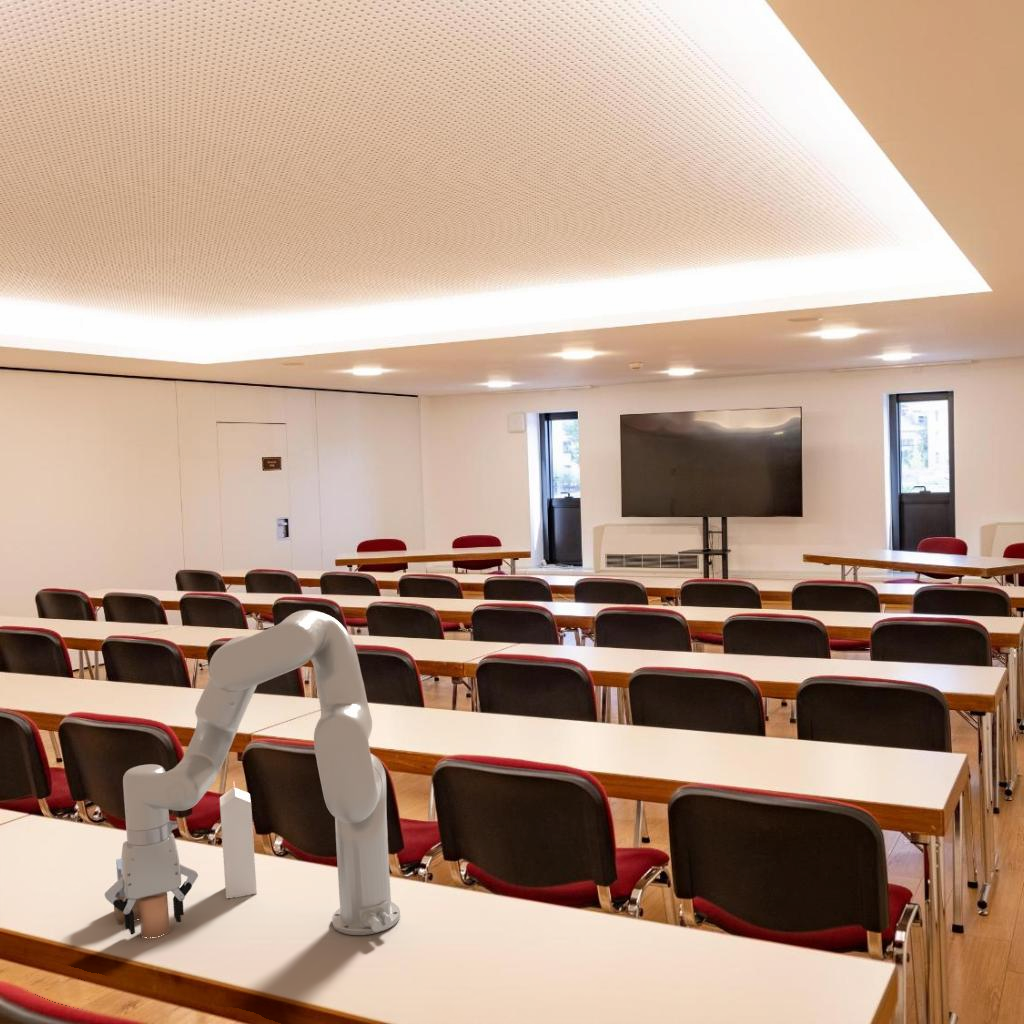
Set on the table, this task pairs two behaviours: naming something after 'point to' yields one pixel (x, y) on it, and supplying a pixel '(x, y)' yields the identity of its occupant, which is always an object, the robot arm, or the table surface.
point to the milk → (238, 843)
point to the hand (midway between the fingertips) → (154, 924)
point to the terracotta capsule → (154, 915)
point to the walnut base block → (121, 914)
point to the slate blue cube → (119, 875)
